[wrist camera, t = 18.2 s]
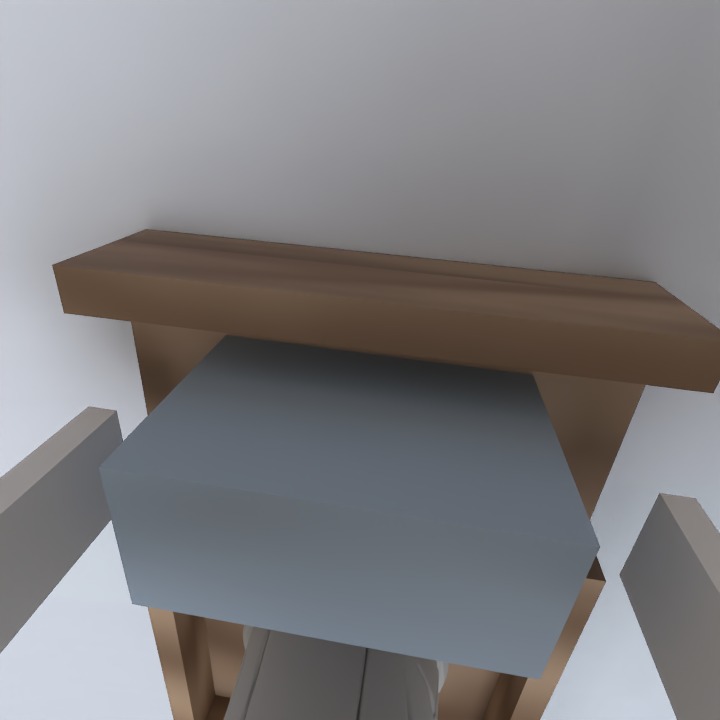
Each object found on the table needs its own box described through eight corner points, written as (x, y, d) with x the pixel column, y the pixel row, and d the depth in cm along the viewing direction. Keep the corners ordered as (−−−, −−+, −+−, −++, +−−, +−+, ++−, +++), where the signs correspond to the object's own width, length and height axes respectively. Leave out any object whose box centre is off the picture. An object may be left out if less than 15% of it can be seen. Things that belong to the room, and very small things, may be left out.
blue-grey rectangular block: (233, 441, 16) (131, 604, 10) (225, 334, 14) (98, 467, 9) (502, 482, 15) (540, 680, 10) (532, 374, 13) (599, 546, 8)
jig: (145, 229, 14) (35, 271, 10) (655, 282, 13) (753, 353, 9) (210, 671, 26) (169, 772, 22) (487, 725, 24) (497, 843, 20)
